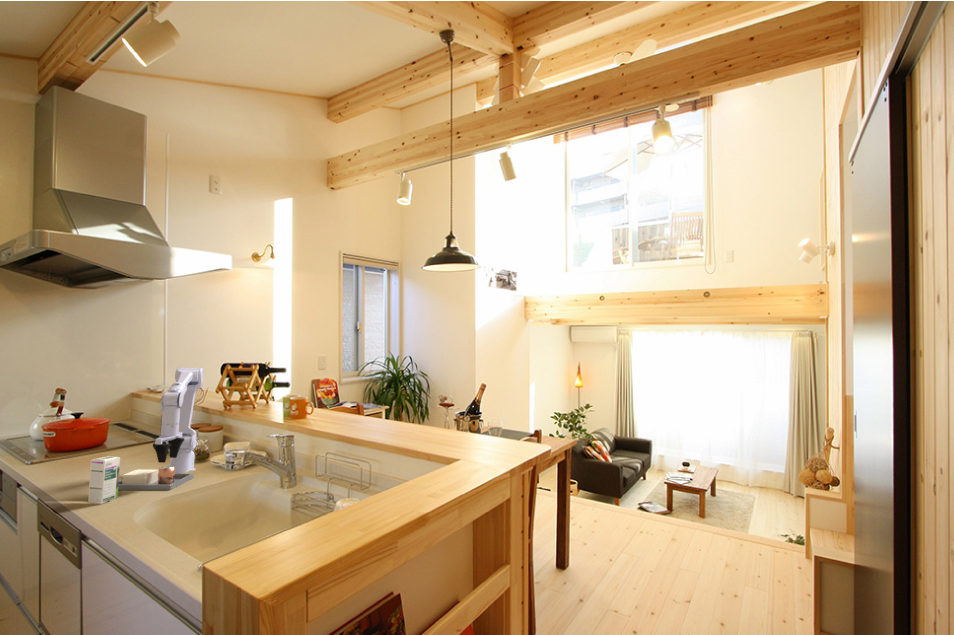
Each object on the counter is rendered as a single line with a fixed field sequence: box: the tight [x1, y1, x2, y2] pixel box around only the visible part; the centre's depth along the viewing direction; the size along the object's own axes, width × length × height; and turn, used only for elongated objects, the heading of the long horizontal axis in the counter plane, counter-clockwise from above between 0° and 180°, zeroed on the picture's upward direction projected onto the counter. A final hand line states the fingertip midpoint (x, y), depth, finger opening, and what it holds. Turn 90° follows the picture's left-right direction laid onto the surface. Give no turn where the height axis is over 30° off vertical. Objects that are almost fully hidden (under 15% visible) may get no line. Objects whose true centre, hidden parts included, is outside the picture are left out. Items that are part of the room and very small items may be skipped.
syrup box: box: [87, 455, 121, 505], centre depth 159 cm, size 6×6×14 cm
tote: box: [118, 472, 195, 491], centre depth 177 cm, size 16×21×2 cm
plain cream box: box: [121, 469, 159, 485], centre depth 176 cm, size 8×8×4 cm
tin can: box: [158, 465, 175, 485], centre depth 177 cm, size 5×5×6 cm
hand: (167, 459), depth 178 cm, fingers open, 7 cm apart
